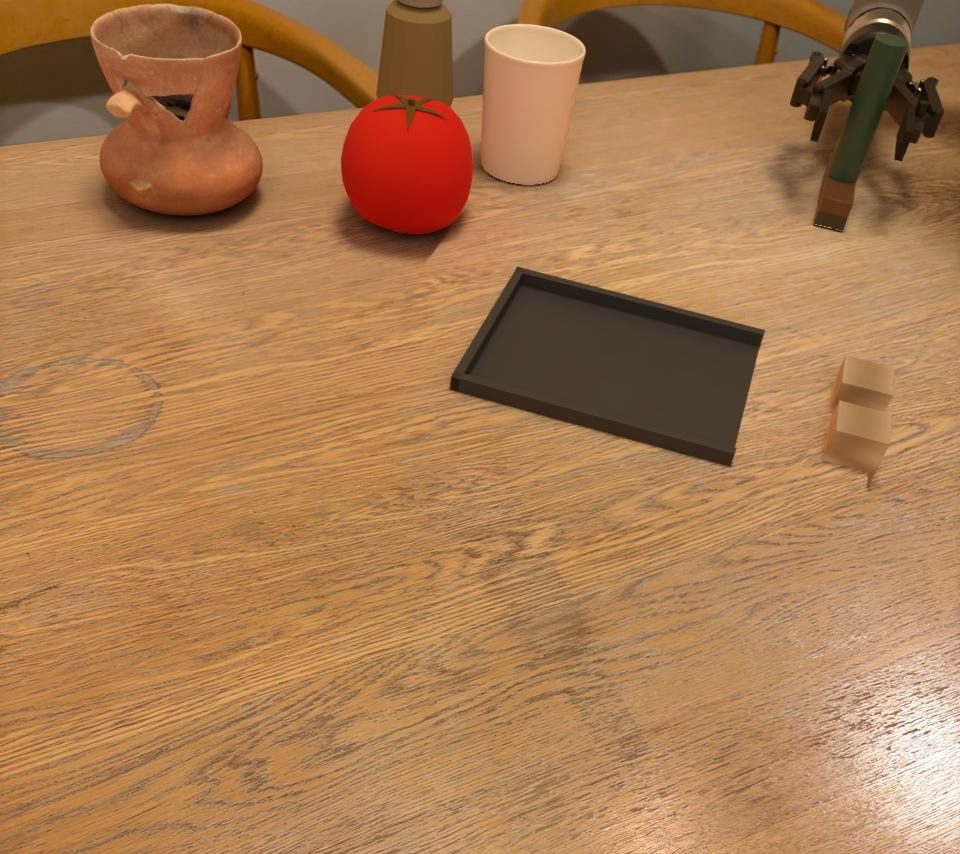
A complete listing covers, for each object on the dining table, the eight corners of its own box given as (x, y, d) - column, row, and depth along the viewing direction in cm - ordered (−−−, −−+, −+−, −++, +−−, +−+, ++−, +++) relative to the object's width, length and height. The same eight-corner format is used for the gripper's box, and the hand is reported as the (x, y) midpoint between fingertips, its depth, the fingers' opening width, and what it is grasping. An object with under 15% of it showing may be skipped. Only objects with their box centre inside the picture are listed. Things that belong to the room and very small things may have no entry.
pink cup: (457, 152, 108) (467, 27, 99) (537, 142, 112) (554, 20, 103) (500, 195, 103) (515, 66, 94) (583, 183, 106) (605, 58, 97)
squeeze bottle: (363, 138, 108) (366, -61, 95) (392, 110, 113) (398, -82, 100) (435, 156, 107) (447, -43, 93) (460, 127, 112) (476, -65, 99)
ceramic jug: (206, 254, 90) (187, 83, 79) (65, 211, 92) (28, 39, 82) (303, 174, 101) (298, 15, 91) (175, 138, 104) (155, -21, 93)
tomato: (469, 196, 102) (480, 78, 94) (465, 263, 93) (477, 140, 85) (350, 183, 101) (350, 63, 93) (334, 250, 93) (333, 124, 84)
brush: (850, 184, 112) (910, 23, 100) (843, 232, 105) (907, 64, 93) (821, 177, 113) (878, 16, 101) (812, 225, 105) (872, 57, 93)
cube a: (875, 408, 84) (895, 367, 81) (873, 436, 82) (893, 394, 79) (827, 396, 85) (845, 355, 82) (823, 423, 82) (841, 381, 79)
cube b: (871, 455, 80) (892, 413, 77) (869, 486, 78) (890, 444, 75) (821, 441, 81) (839, 399, 78) (816, 472, 78) (835, 429, 75)
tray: (448, 402, 79) (450, 375, 77) (513, 291, 91) (517, 266, 89) (725, 478, 76) (735, 453, 75) (756, 354, 88) (765, 329, 86)
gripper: (951, 114, 115) (950, 199, 100) (772, 74, 118) (745, 151, 103) (982, 41, 110) (986, 120, 95) (793, 1, 112) (768, 72, 97)
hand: (860, 136), depth 99 cm, fingers open, 8 cm apart
